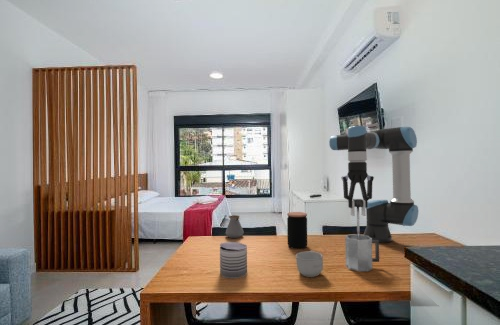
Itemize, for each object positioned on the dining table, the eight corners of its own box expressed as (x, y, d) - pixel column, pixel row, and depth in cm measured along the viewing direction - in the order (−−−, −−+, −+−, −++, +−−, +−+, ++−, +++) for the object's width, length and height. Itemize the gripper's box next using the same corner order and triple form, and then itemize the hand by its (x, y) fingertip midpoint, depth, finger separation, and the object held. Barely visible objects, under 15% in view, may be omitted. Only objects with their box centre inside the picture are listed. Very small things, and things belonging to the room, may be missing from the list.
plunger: (364, 242, 125) (363, 198, 126) (371, 247, 118) (370, 200, 118) (346, 242, 126) (345, 198, 126) (352, 248, 118) (351, 200, 118)
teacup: (318, 281, 107) (317, 260, 107) (291, 275, 113) (291, 256, 113) (328, 269, 119) (328, 251, 119) (304, 265, 125) (304, 247, 125)
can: (220, 268, 122) (220, 241, 122) (246, 267, 123) (246, 240, 123) (219, 279, 111) (219, 248, 111) (248, 278, 111) (247, 247, 111)
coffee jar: (306, 243, 158) (305, 211, 158) (308, 249, 147) (307, 215, 147) (287, 243, 159) (286, 211, 159) (287, 249, 148) (287, 215, 148)
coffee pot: (224, 235, 180) (224, 211, 180) (242, 233, 182) (241, 210, 182) (228, 244, 159) (228, 217, 159) (248, 242, 161) (248, 216, 162)
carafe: (373, 262, 127) (373, 234, 127) (384, 271, 116) (383, 240, 116) (343, 262, 127) (342, 234, 127) (350, 271, 116) (350, 240, 117)
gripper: (373, 161, 125) (374, 213, 125) (335, 162, 126) (335, 214, 126) (380, 161, 118) (381, 216, 118) (340, 161, 118) (340, 217, 118)
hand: (358, 215), depth 122 cm, fingers closed on plunger, 4 cm apart
